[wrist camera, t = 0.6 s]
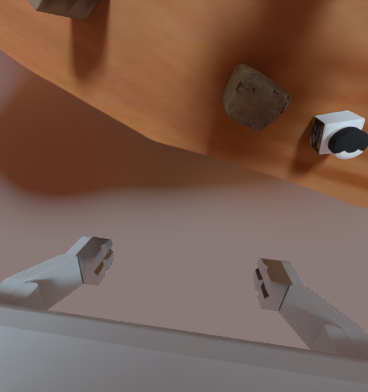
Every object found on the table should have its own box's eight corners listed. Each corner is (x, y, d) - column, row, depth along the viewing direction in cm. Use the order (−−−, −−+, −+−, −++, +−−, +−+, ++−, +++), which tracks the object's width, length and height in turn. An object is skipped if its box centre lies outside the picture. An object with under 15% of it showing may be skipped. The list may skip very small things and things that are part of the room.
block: (220, 92, 46) (217, 113, 31) (238, 58, 42) (246, 63, 26) (257, 114, 48) (272, 145, 32) (278, 83, 43) (308, 102, 28)
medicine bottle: (313, 115, 46) (335, 132, 36) (348, 109, 44) (381, 126, 34) (308, 143, 50) (327, 165, 40) (340, 139, 48) (368, 161, 38)
